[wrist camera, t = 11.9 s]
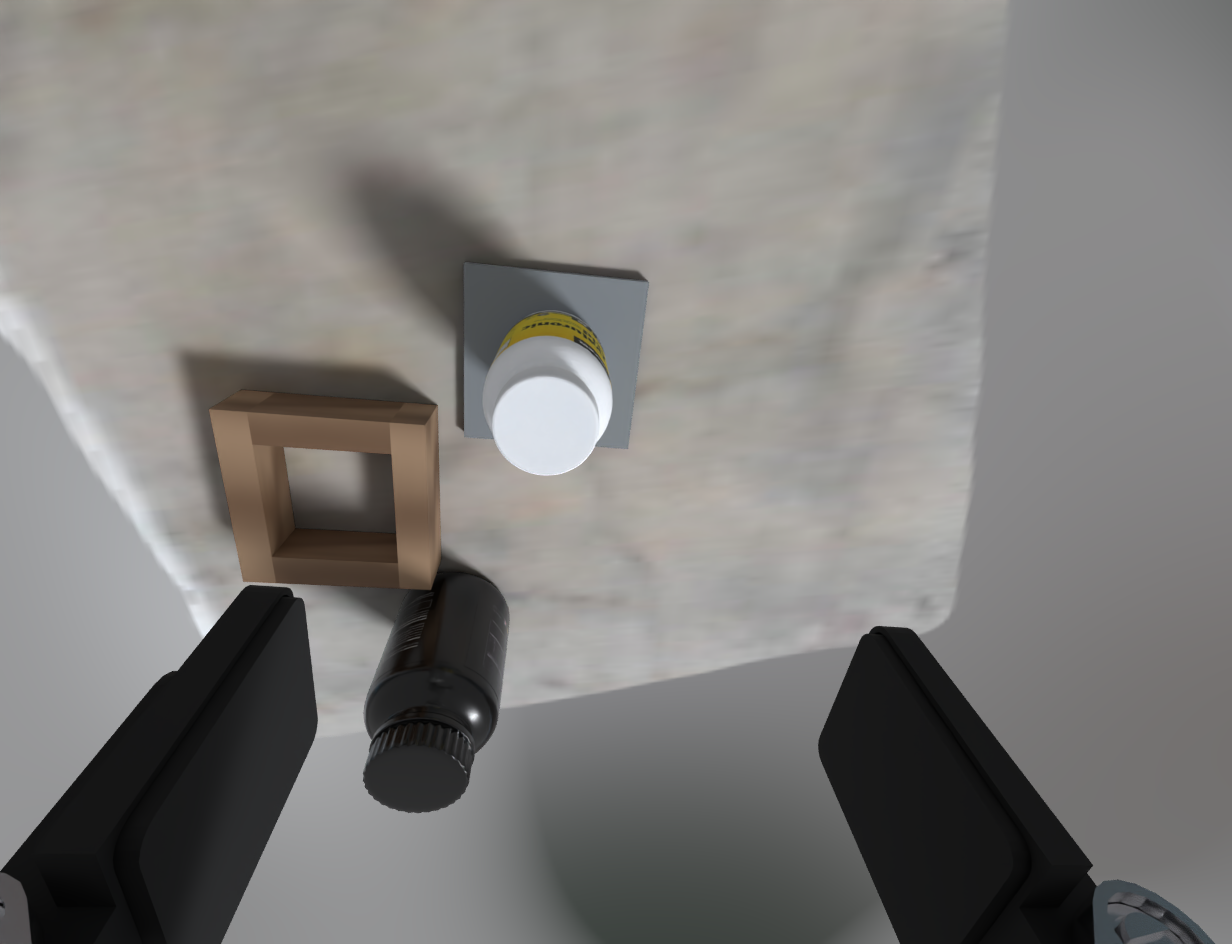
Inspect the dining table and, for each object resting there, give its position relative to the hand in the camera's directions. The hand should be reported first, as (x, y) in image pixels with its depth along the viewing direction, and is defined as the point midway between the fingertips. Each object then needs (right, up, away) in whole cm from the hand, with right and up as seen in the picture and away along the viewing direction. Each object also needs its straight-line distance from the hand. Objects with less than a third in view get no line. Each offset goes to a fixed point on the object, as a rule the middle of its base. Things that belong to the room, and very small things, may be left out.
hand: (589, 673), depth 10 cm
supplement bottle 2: (-3, +9, +21) cm, 23 cm away
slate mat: (-3, +9, +21) cm, 23 cm away
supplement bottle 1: (-10, -5, +28) cm, 30 cm away
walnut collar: (-15, +3, +23) cm, 28 cm away
